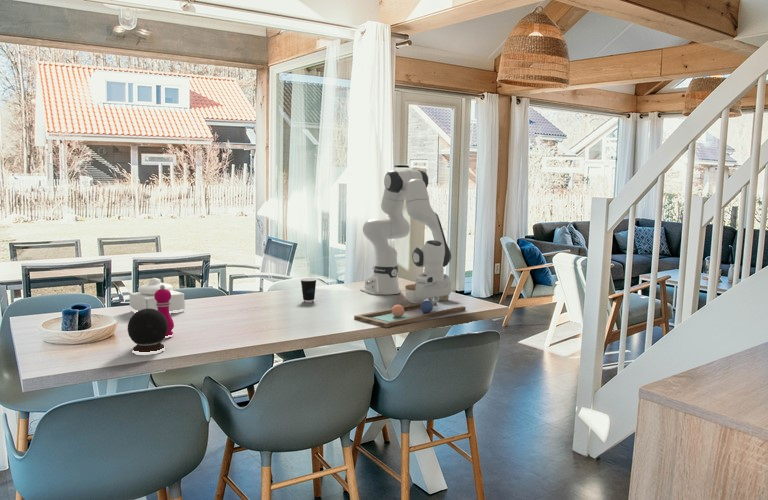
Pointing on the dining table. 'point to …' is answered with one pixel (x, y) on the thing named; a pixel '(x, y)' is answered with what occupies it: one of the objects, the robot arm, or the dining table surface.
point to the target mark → (390, 317)
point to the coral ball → (398, 311)
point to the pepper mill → (164, 306)
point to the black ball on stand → (147, 330)
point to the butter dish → (147, 299)
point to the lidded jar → (412, 294)
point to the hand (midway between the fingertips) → (433, 306)
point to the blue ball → (426, 306)
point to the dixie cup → (308, 289)
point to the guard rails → (367, 318)
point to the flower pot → (444, 297)
